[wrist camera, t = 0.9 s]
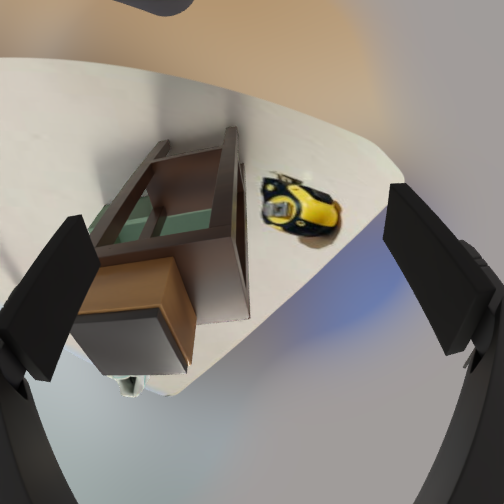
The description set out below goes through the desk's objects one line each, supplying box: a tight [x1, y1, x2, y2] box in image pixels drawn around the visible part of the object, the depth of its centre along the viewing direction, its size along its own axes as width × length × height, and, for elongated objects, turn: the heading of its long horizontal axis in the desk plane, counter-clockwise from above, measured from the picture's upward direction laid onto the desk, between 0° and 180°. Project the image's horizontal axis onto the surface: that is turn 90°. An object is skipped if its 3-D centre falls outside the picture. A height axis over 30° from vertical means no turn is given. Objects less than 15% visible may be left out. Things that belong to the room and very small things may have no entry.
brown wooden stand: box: [89, 126, 250, 325], centre depth 35 cm, size 8×12×30 cm, turn 99°
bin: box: [88, 196, 211, 244], centre depth 51 cm, size 12×22×8 cm, turn 99°
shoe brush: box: [70, 257, 197, 376], centre depth 21 cm, size 6×17×5 cm, turn 99°
